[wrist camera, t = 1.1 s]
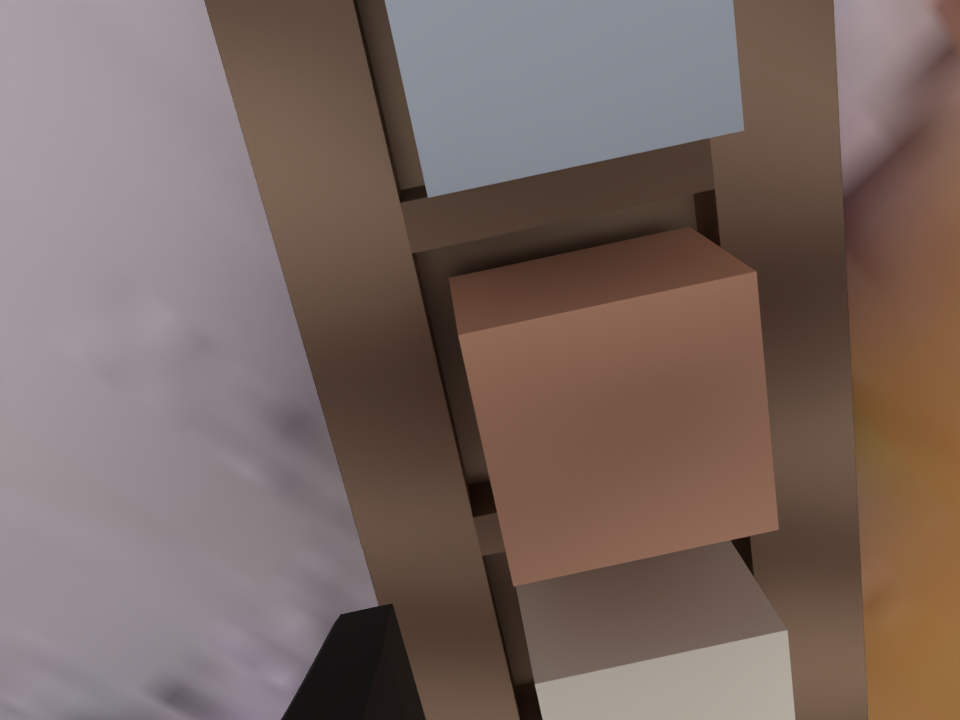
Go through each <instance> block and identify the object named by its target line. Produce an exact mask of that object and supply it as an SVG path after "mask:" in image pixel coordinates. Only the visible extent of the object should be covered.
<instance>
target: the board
mask: <svg viewBox="0 0 960 720" xmlns="http://www.w3.org/2000/svg"><path fill="white" fill-rule="evenodd" d="M204 1H205V4H206V8H207V11H208V15H209V18H210V22H211V25H212V29H213V32H214V36H215V39H216V43H217V46H218V49H219V53H220V56H221V60H222V63H223V67H224V70H225V74H226V77H227V81H228V84H229V88H230V91H231V95H232V98H233V101H234V105H235V108H236V112H237V115H238V119H239V122H240V126H241V129H242V133H243V136H244V140H245V143H246V147H247V150H248V153H249V157H250V160H251V164H252V167H253V171H254V174H255V178H256V181H257V185H258V188H259V192H260V195H261V199H262V202H263V205H264V209H265V212H266V216H267V219H268V223H269V226H270V230H271V233H272V237H273V240H274V244H275V247H276V251H277V254H278V257H279V261H280V264H281V268H282V271H283V275H284V278H285V282H286V285H287V289H288V292H289V296H290V299H291V303H292V306H293V309H294V313H295V316H296V320H297V323H298V327H299V330H300V334H301V337H302V341H303V344H304V348H305V351H306V355H307V358H308V361H309V365H310V368H311V372H312V375H313V379H314V382H315V386H316V389H317V393H318V396H319V400H320V403H321V407H322V410H323V413H324V417H325V420H326V424H327V427H328V431H329V434H330V438H331V441H332V445H333V448H334V452H335V455H336V459H337V462H338V465H339V469H340V472H341V476H342V479H343V483H344V486H345V490H346V493H347V497H348V500H349V504H350V507H351V511H352V514H353V517H354V521H355V524H356V528H357V531H358V535H359V538H360V542H361V545H362V549H363V552H364V556H365V559H366V563H367V566H368V569H369V573H370V576H371V580H372V583H373V587H374V590H375V594H376V597H377V601H378V604H379V606H382V605H387V604H392V603H393V606H394V610H395V613H396V617H397V620H398V624H399V627H400V631H401V634H402V638H403V641H404V645H405V648H406V652H407V655H408V659H409V662H410V666H411V669H412V673H413V676H414V680H415V683H416V687H417V690H418V694H419V697H420V700H421V704H422V707H423V711H424V714H425V718H426V720H543V719H542V715H541V710H540V706H539V701H538V696H537V692H536V687H535V683H534V677H533V672H532V667H531V662H530V657H529V652H528V647H527V641H526V636H525V631H524V626H523V621H522V616H521V611H520V605H519V600H518V595H517V590H516V586H514V587H513V583H512V578H511V574H510V569H509V564H508V560H507V555H506V551H505V546H504V542H503V537H502V533H501V528H500V523H499V519H498V514H497V510H496V505H495V501H494V496H493V492H492V487H491V482H490V478H489V473H488V469H487V464H486V460H485V455H484V451H483V446H482V442H481V437H480V432H479V428H478V423H477V419H476V414H475V410H474V405H473V401H472V396H471V391H470V387H469V382H468V378H467V373H466V369H465V364H464V360H463V355H462V350H461V346H460V341H459V337H458V331H457V325H456V319H455V313H454V307H453V301H452V295H451V289H450V283H449V278H451V277H456V276H460V275H465V274H470V273H474V272H479V271H484V270H488V269H493V268H498V267H502V266H507V265H512V264H517V263H521V262H526V261H531V260H535V259H540V258H545V257H549V256H554V255H559V254H563V253H568V252H573V251H578V250H582V249H587V248H592V247H596V246H601V245H606V244H610V243H615V242H620V241H624V240H629V239H634V238H639V237H643V236H648V235H653V234H657V233H662V232H667V231H671V230H676V229H681V228H685V227H691V228H692V229H694V230H695V231H697V232H698V233H700V234H701V235H703V236H704V237H706V238H707V239H709V240H710V241H712V242H713V243H715V244H716V245H718V246H719V247H721V248H722V249H724V250H725V251H727V252H728V253H730V254H731V255H733V256H734V257H736V258H737V259H739V260H740V261H742V262H743V263H745V264H746V265H748V266H749V267H751V268H752V269H754V270H755V271H757V283H758V294H759V306H760V317H761V329H762V340H763V352H764V364H765V375H766V387H767V398H768V410H769V421H770V433H771V444H772V456H773V467H774V479H775V490H776V502H777V513H778V525H779V530H775V531H771V532H766V533H761V534H757V535H752V536H747V537H743V538H738V539H733V540H730V541H731V542H732V544H733V545H734V547H735V549H736V550H737V552H738V553H739V555H740V556H741V558H742V560H743V561H744V563H745V564H746V566H747V567H748V569H749V570H750V572H751V574H752V575H753V577H754V578H755V580H756V581H757V583H758V585H759V586H760V588H761V589H762V591H763V592H764V594H765V595H766V597H767V599H768V600H769V602H770V603H771V605H772V606H773V608H774V610H775V611H776V613H777V614H778V616H779V617H780V619H781V620H782V622H783V624H784V625H785V627H786V628H787V630H788V640H789V652H790V663H791V675H792V686H793V698H794V709H795V720H868V706H867V686H866V665H865V644H864V624H863V603H862V582H861V562H860V541H859V520H858V500H857V479H856V458H855V438H854V417H853V396H852V376H851V355H850V335H849V314H848V293H847V273H846V252H845V231H844V211H843V190H842V169H841V149H840V128H839V107H838V87H837V66H836V45H835V25H834V4H833V0H733V6H734V18H735V29H736V41H737V52H738V64H739V75H740V87H741V98H742V110H743V121H744V131H740V132H735V133H730V134H726V135H721V136H716V137H712V138H707V139H702V140H698V141H693V142H688V143H683V144H679V145H674V146H669V147H665V148H660V149H655V150H651V151H646V152H641V153H636V154H632V155H627V156H622V157H618V158H613V159H608V160H604V161H599V162H594V163H589V164H585V165H580V166H575V167H571V168H566V169H561V170H557V171H552V172H547V173H543V174H538V175H533V176H528V177H524V178H519V179H514V180H510V181H505V182H500V183H496V184H491V185H486V186H481V187H477V188H472V189H467V190H463V191H458V192H453V193H449V194H444V195H439V196H434V197H430V198H428V196H427V191H426V187H425V182H424V178H423V173H422V168H421V164H420V159H419V155H418V150H417V146H416V141H415V137H414V132H413V127H412V123H411V118H410V114H409V109H408V105H407V100H406V96H405V91H404V86H403V82H402V77H401V73H400V68H399V64H398V59H397V55H396V50H395V46H394V41H393V36H392V32H391V27H390V23H389V18H388V14H387V9H386V5H385V0H204Z"/></svg>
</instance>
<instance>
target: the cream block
mask: <svg viewBox="0 0 960 720" xmlns="http://www.w3.org/2000/svg"><path fill="white" fill-rule="evenodd" d="M516 590H517V595H518V600H519V605H520V611H521V616H522V621H523V626H524V631H525V636H526V641H527V647H528V652H529V657H530V662H531V667H532V672H533V677H534V683H535V687H536V692H537V696H538V701H539V706H540V710H541V715H542V719H543V720H795V709H794V698H793V686H792V675H791V663H790V652H789V640H788V630H787V628H786V627H785V625H784V624H783V622H782V620H781V619H780V617H779V616H778V614H777V613H776V611H775V610H774V608H773V606H772V605H771V603H770V602H769V600H768V599H767V597H766V595H765V594H764V592H763V591H762V589H761V588H760V586H759V585H758V583H757V581H756V580H755V578H754V577H753V575H752V574H751V572H750V570H749V569H748V567H747V566H746V564H745V563H744V561H743V560H742V558H741V556H740V555H739V553H738V552H737V550H736V549H735V547H734V545H733V544H732V542H731V541H730V540H729V541H724V542H719V543H715V544H710V545H705V546H701V547H696V548H691V549H687V550H682V551H677V552H673V553H668V554H663V555H659V556H654V557H649V558H645V559H640V560H635V561H631V562H626V563H621V564H617V565H612V566H607V567H603V568H598V569H593V570H589V571H584V572H579V573H575V574H570V575H565V576H560V577H556V578H551V579H546V580H542V581H537V582H532V583H528V584H523V585H518V586H516Z"/></svg>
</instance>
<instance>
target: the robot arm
mask: <svg viewBox="0 0 960 720" xmlns="http://www.w3.org/2000/svg"><path fill="white" fill-rule="evenodd" d="M281 720H426V718H425V714H424V711H423V707H422V704H421V700H420V697H419V694H418V690H417V687H416V683H415V680H414V676H413V673H412V669H411V666H410V662H409V659H408V655H407V652H406V648H405V645H404V641H403V638H402V634H401V631H400V627H399V624H398V620H397V617H396V613H395V610H394V606H393V603H392V604H387V605H382V606H378V607H373V608H369V609H364V610H359V611H355V612H350V613H346V614H341V615H340V616H339V618H338V619H337V620H336V622H335V623H334V625H333V627H332V628H331V630H330V632H329V634H328V636H327V638H326V639H325V641H324V643H323V645H322V647H321V649H320V651H319V653H318V654H317V656H316V658H315V660H314V662H313V664H312V666H311V668H310V669H309V671H308V673H307V675H306V677H305V679H304V680H303V682H302V684H301V686H300V688H299V689H298V691H297V693H296V695H295V696H294V698H293V700H292V702H291V704H290V705H289V707H288V709H287V711H286V712H285V714H284V716H283V717H282V719H281Z"/></svg>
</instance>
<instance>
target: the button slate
mask: <svg viewBox="0 0 960 720" xmlns="http://www.w3.org/2000/svg"><path fill="white" fill-rule="evenodd" d="M385 5H386V9H387V14H388V18H389V23H390V27H391V32H392V36H393V41H394V46H395V50H396V55H397V59H398V64H399V68H400V73H401V77H402V82H403V86H404V91H405V96H406V100H407V105H408V109H409V114H410V118H411V123H412V127H413V132H414V137H415V141H416V146H417V150H418V155H419V159H420V164H421V168H422V173H423V178H424V182H425V187H426V191H427V196H428V198H430V197H434V196H439V195H444V194H449V193H453V192H458V191H463V190H467V189H472V188H477V187H481V186H486V185H491V184H496V183H500V182H505V181H510V180H514V179H519V178H524V177H528V176H533V175H538V174H543V173H547V172H552V171H557V170H561V169H566V168H571V167H575V166H580V165H585V164H589V163H594V162H599V161H604V160H608V159H613V158H618V157H622V156H627V155H632V154H636V153H641V152H646V151H651V150H655V149H660V148H665V147H669V146H674V145H679V144H683V143H688V142H693V141H698V140H702V139H707V138H712V137H716V136H721V135H726V134H730V133H735V132H740V131H744V121H743V110H742V98H741V87H740V75H739V64H738V52H737V41H736V29H735V18H734V6H733V0H385Z"/></svg>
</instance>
